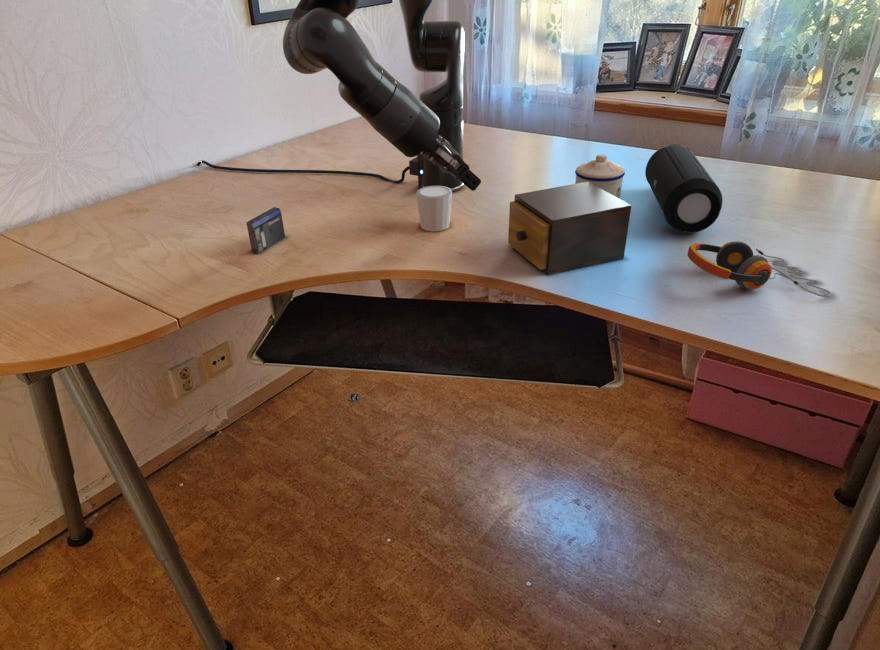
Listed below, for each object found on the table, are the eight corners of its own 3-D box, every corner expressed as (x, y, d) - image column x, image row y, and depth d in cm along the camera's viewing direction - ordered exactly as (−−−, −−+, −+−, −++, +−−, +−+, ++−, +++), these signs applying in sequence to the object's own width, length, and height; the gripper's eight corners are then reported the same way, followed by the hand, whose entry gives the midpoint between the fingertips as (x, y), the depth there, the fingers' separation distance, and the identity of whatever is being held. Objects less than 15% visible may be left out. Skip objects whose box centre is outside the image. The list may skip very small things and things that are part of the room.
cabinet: (548, 275, 109) (552, 220, 103) (512, 245, 119) (514, 194, 114) (623, 258, 112) (631, 205, 107) (582, 231, 123) (587, 181, 117)
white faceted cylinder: (456, 220, 130) (456, 186, 126) (447, 233, 125) (446, 198, 121) (423, 217, 132) (422, 184, 128) (413, 231, 127) (411, 196, 123)
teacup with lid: (620, 223, 124) (629, 163, 118) (571, 222, 126) (577, 162, 120) (615, 201, 134) (623, 143, 128) (570, 200, 136) (575, 143, 129)
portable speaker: (640, 188, 139) (647, 141, 134) (689, 188, 138) (698, 140, 132) (661, 237, 118) (671, 183, 113) (719, 237, 117) (732, 183, 111)
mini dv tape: (258, 253, 122) (252, 223, 119) (252, 252, 123) (246, 222, 119) (285, 237, 128) (280, 207, 124) (279, 236, 128) (274, 206, 125)
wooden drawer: (533, 271, 108) (536, 227, 104) (501, 244, 118) (503, 202, 113) (610, 255, 112) (616, 211, 107) (573, 230, 121) (578, 189, 117)
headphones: (851, 282, 96) (728, 266, 92) (832, 314, 99) (712, 299, 95) (784, 237, 110) (676, 221, 106) (769, 266, 113) (664, 251, 109)
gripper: (433, 107, 92) (509, 179, 101) (403, 89, 102) (474, 155, 112) (400, 150, 93) (477, 217, 103) (373, 128, 104) (446, 190, 114)
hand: (475, 185), depth 107 cm, fingers closed
